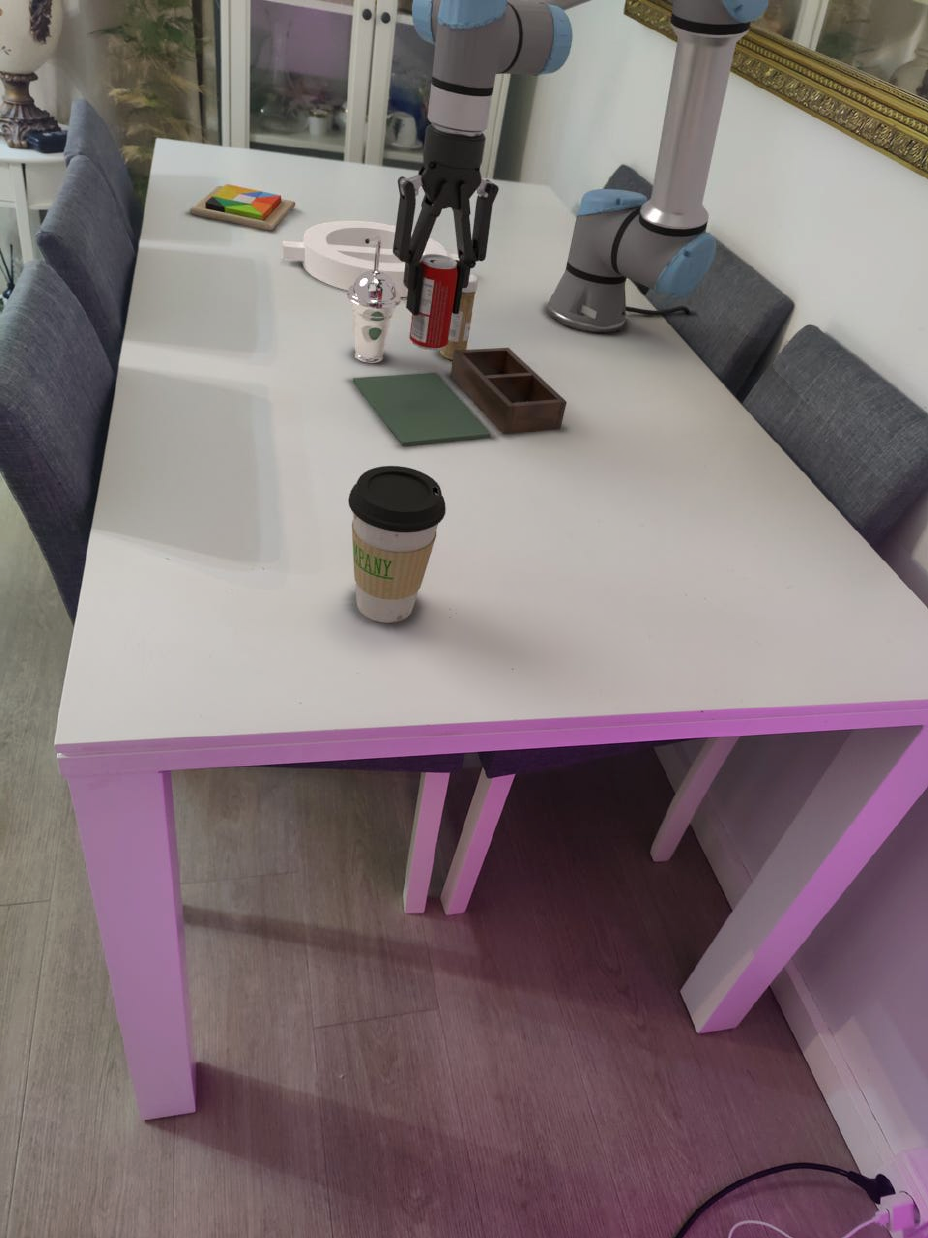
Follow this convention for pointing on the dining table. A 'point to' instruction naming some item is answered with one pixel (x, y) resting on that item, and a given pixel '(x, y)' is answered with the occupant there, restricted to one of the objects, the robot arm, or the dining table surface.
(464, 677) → the dining table surface
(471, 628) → the dining table surface
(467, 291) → the sprinkles bottle
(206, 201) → the wooden puzzle
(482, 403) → the can holder
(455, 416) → the rubber mat
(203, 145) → the dining table surface
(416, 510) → the coffee cup
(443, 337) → the soda can
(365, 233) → the ring with crossbar
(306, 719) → the dining table surface
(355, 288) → the cup with straw
